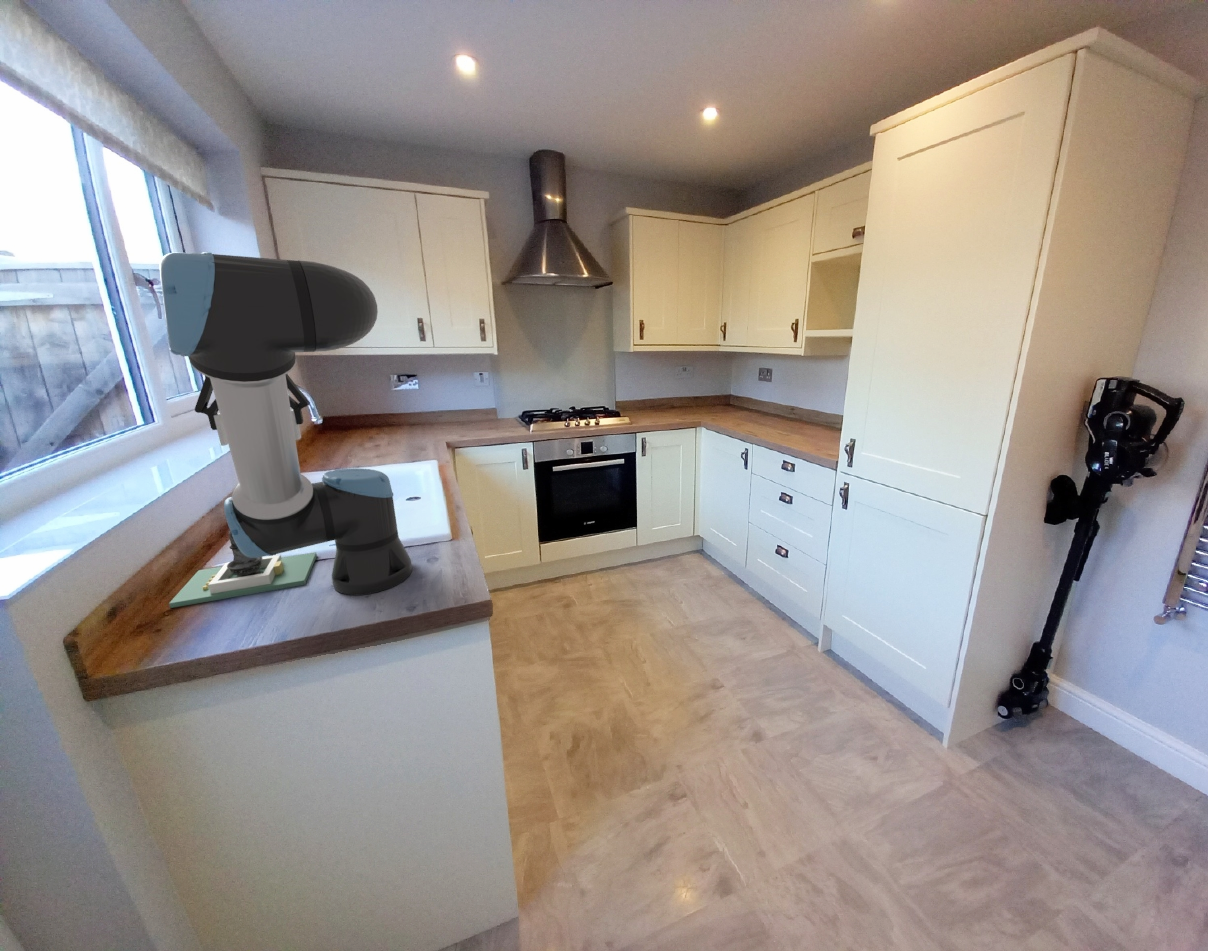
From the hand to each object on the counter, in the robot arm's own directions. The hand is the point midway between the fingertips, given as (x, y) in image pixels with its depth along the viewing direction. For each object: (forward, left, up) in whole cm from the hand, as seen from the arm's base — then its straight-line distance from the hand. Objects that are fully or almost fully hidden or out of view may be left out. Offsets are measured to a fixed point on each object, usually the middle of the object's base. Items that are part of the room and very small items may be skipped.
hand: (262, 441), depth 103 cm
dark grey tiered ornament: (+4, +14, -26) cm, 30 cm away
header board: (+4, +13, -27) cm, 30 cm away
